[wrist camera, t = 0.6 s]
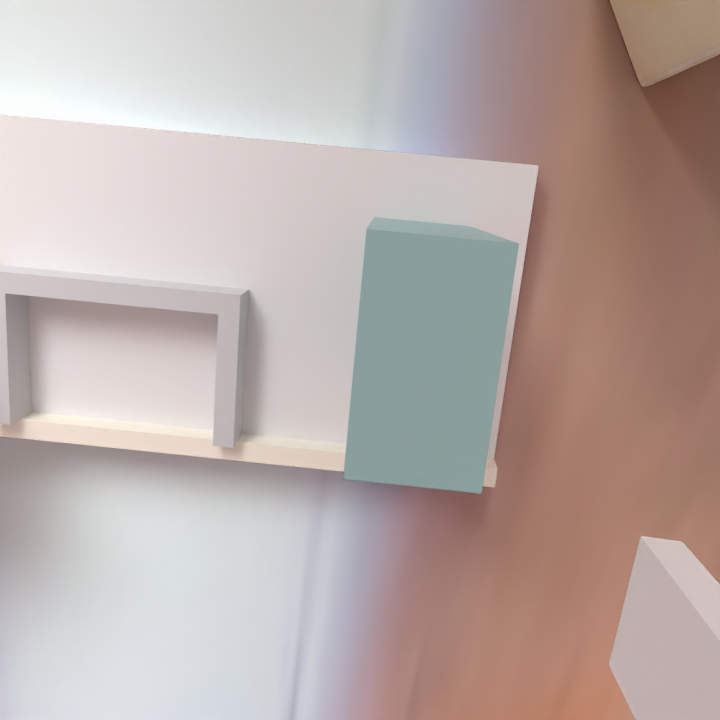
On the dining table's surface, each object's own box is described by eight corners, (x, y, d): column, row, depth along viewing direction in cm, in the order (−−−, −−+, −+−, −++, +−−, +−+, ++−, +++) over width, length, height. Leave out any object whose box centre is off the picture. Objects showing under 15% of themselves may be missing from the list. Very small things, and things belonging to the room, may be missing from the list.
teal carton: (356, 379, 33) (339, 478, 21) (372, 216, 31) (362, 228, 19) (451, 388, 33) (485, 494, 21) (472, 226, 31) (523, 244, 19)
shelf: (-202, 97, 32) (-272, 86, 29) (531, 166, 32) (548, 163, 28) (-169, 407, 36) (-226, 428, 33) (485, 474, 36) (495, 503, 32)
